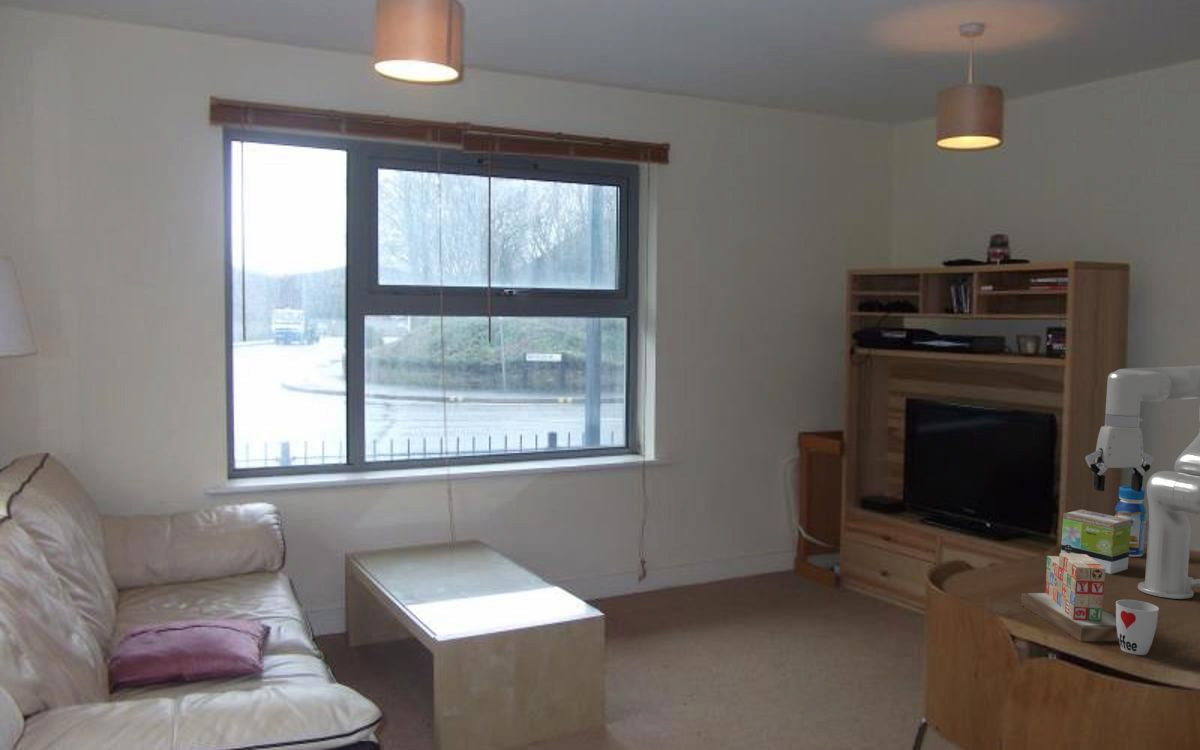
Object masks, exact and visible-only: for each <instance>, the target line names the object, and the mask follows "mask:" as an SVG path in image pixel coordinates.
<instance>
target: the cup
mask: <svg viewBox="0 0 1200 750" xmlns="http://www.w3.org/2000/svg"><path fill="white" fill-rule="evenodd" d="M1159 610H1160V608H1159V607H1158V606H1157V605H1155V604H1152V603H1151V602H1146V601H1141V600H1136V599H1119V600H1116V601H1115V616H1116V626H1117V635H1118V640H1119V641H1118V643H1119V646H1120V650H1121V651H1123V652H1125V653H1128V654H1130V655H1136V656H1145V655H1147V654H1148V653H1149V651H1150V649H1151V646H1152V644H1153V640H1154V637H1155V633H1156V630H1157V624H1158V618H1159V612H1160V611H1159Z"/></svg>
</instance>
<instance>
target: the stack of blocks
mask: <svg viewBox="0 0 1200 750" xmlns="http://www.w3.org/2000/svg"><path fill="white" fill-rule="evenodd" d="M1045 568H1046V572H1045V573H1046V575H1045V580H1046V581H1045V593H1047V594H1048V595H1049V596H1050V597H1051V598H1052V599H1053V600H1054V601H1055V602H1056V603H1057V604H1058V605H1059V606H1060V607H1062V608H1063V609H1064V610H1065V612H1066V613H1067V614H1068V615H1069V616H1070V617H1071V618H1072V619H1073V620H1089V621H1102V611H1103V610H1104V609H1103V605H1104V604H1103V603H1104V594H1105V583H1106V582H1105V580H1106V573H1105V572H1106V569H1105V568H1104V567H1103V566H1101V564H1100V563H1098V562H1097V561H1095V560H1094V559H1092V558H1091V557H1089V556H1088V555H1086V554H1067V553H1061V552H1060V553H1059V555H1058V556H1056V555H1055V556H1054V555H1047V556H1046V565H1045Z"/></svg>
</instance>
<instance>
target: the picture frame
mask: <svg viewBox="0 0 1200 750" xmlns="http://www.w3.org/2000/svg"><path fill="white" fill-rule="evenodd" d="M1020 595H1021V597H1020V599H1021V600H1020V606H1021V607H1023V606H1024V607H1023V608H1025V609H1026V608H1027V609H1026V610H1028V611H1030V612H1031V611H1032V612H1031V613H1033V614H1034V615H1036V614H1037V616H1038V617H1040V618H1041V617H1042V618H1041V619H1042V620H1045V621H1046V620H1047V622H1048V623H1049V622H1050V623H1049V624H1051V625H1053V626H1054V627H1056V628H1058V629H1059V628H1060V629H1059V630H1062V631H1063V633H1066V634H1068V635H1069V634H1070V635H1069V636H1070V637H1073V638H1074V639H1076V640H1078V641H1080V642H1119V640H1118V635H1117V626H1116V615H1115V614H1112V613H1111V612H1108V611H1107V610H1105V609H1103V611H1102V621H1089V620H1073V619H1072V618H1071V617H1070V616H1069V615H1068V614H1067V613H1066V612H1065V610H1064V609H1063V608H1062V607H1060V606H1059V605H1058V604H1057V603H1056V602H1055V601H1054V600H1053V599H1052V598H1051V597H1050V596H1049V595H1048V594H1047V593H1046V592H1038V593H1037V592H1033V593H1032V592H1030V593H1029V592H1027V593H1026V592H1025V593H1024V592H1023V593H1022V592H1021V594H1020Z"/></svg>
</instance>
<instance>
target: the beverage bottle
mask: <svg viewBox="0 0 1200 750" xmlns="http://www.w3.org/2000/svg"><path fill="white" fill-rule="evenodd" d="M1145 492H1146V491H1145V489H1144V488H1142V489H1141V492H1138V491H1135V490H1132V489H1131V485H1129V486H1128V485H1124V486H1123V485H1122V486H1119V489H1118V497H1119V499H1120V500H1119V501H1118V502H1117V504H1116V506H1115V509H1114V510H1115V515H1114V516H1116V517H1121V518H1125V519H1131V532H1130V546H1129V557H1130V558H1138V557H1142V556H1144V553H1145V551H1144V550H1145V549H1144V544H1145V532H1146V523H1147V518H1146V517H1145V516H1146V515H1147V509H1146V507H1145V505H1144V503H1143V501H1144V500H1145V495H1146V494H1145Z"/></svg>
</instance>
